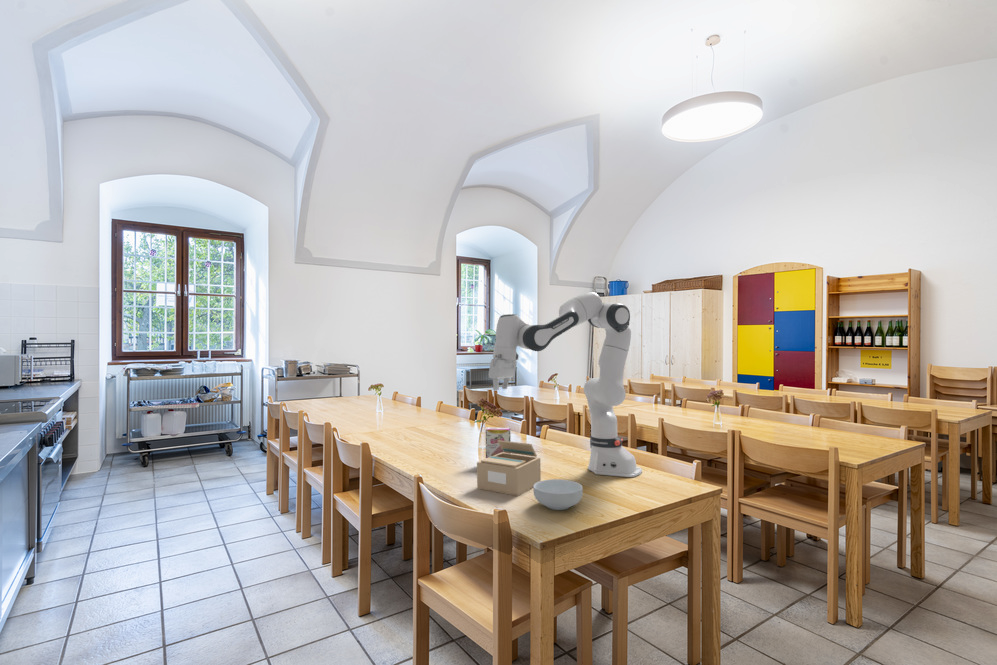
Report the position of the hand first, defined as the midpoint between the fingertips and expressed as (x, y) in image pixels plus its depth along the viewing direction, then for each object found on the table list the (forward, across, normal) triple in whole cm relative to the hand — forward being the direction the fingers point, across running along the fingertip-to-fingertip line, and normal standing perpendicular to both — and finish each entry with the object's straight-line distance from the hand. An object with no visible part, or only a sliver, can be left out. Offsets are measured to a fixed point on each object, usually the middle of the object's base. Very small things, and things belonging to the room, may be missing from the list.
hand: (500, 389), depth 197 cm
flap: (+27, -4, -6) cm, 28 cm away
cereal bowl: (+35, -15, -32) cm, 49 cm away
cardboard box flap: (+23, +6, -8) cm, 25 cm away
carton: (+36, +1, -8) cm, 37 cm away
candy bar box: (+37, +28, +7) cm, 47 cm away
